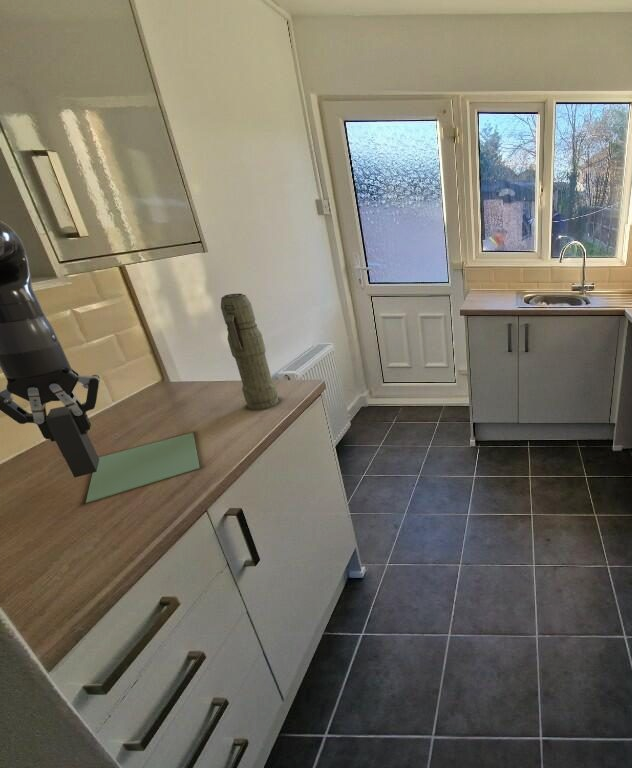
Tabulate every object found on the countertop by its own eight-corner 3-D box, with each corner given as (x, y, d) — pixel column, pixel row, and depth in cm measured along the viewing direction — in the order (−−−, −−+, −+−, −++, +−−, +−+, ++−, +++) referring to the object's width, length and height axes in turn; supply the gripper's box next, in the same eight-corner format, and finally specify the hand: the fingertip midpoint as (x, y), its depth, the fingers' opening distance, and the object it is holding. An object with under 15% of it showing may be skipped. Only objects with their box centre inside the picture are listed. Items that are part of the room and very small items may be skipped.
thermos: (242, 414, 126) (206, 300, 112) (254, 398, 136) (223, 292, 123) (273, 411, 128) (243, 298, 114) (283, 395, 138) (256, 290, 124)
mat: (86, 504, 88) (85, 502, 88) (96, 460, 104) (95, 458, 104) (200, 469, 100) (199, 467, 99) (193, 434, 115) (193, 432, 115)
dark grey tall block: (72, 478, 75) (42, 419, 70) (76, 465, 79) (48, 409, 74) (96, 471, 77) (69, 414, 72) (99, 459, 81) (73, 404, 76)
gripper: (87, 332, 75) (122, 417, 82) (-32, 348, 67) (18, 440, 74) (82, 342, 70) (120, 431, 76) (-48, 360, 62) (7, 458, 68)
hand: (70, 435), depth 75 cm, fingers closed on dark grey tall block, 3 cm apart
